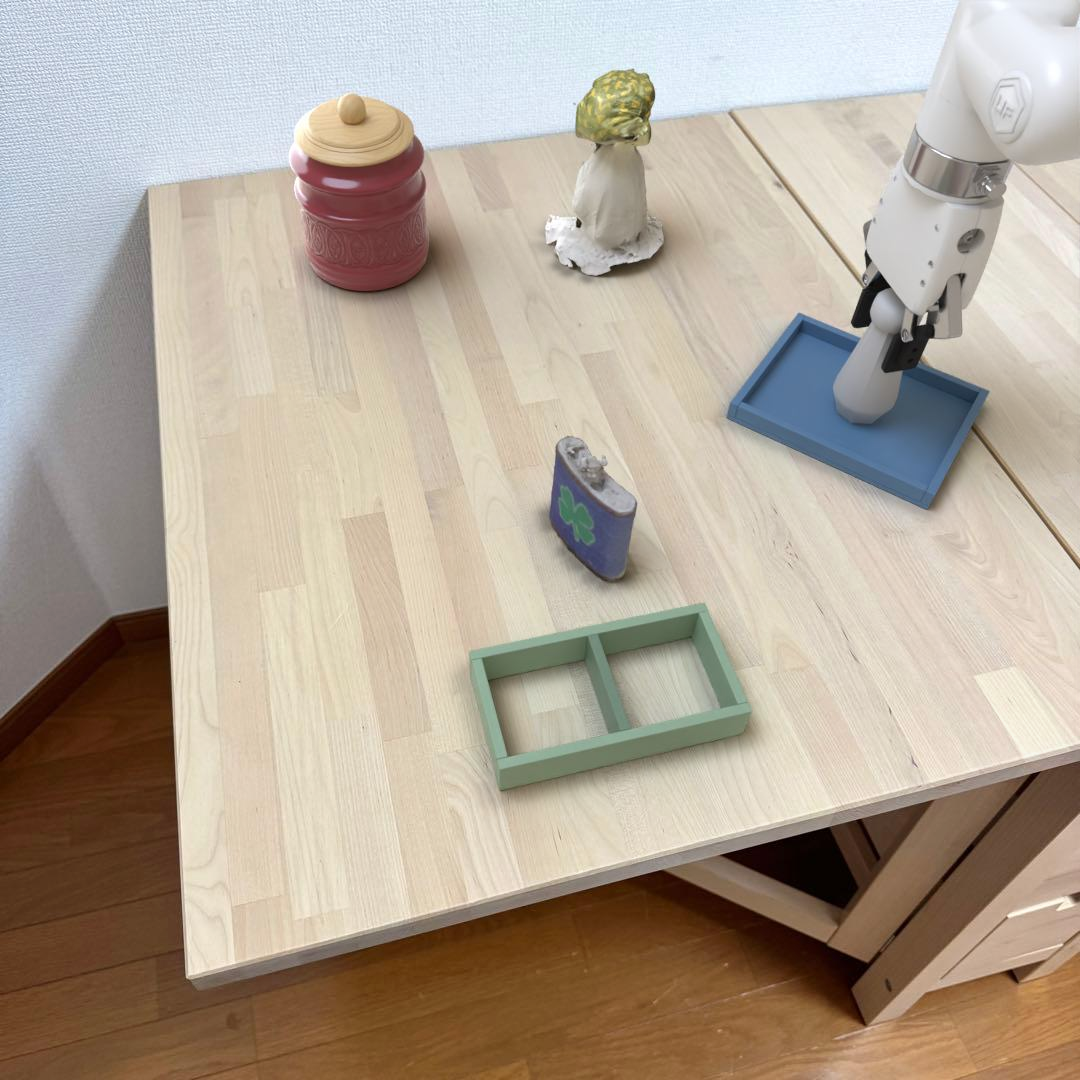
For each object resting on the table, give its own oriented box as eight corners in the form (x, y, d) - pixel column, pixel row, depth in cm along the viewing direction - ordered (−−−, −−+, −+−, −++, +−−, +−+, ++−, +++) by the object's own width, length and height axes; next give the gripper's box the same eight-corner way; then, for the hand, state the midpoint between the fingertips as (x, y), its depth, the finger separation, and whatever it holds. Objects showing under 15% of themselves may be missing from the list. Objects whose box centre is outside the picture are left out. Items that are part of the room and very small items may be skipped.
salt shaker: (894, 433, 92) (944, 322, 82) (832, 430, 92) (875, 320, 82) (881, 388, 96) (928, 277, 85) (822, 386, 96) (862, 275, 85)
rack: (697, 626, 79) (704, 601, 76) (742, 734, 73) (752, 711, 71) (469, 674, 76) (468, 650, 73) (499, 791, 70) (499, 769, 67)
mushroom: (686, 249, 109) (717, 85, 94) (596, 292, 104) (614, 126, 89) (615, 196, 114) (634, 34, 100) (526, 235, 109) (533, 70, 95)
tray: (981, 406, 95) (990, 390, 94) (927, 510, 87) (934, 495, 86) (793, 327, 101) (798, 312, 100) (725, 417, 93) (730, 402, 92)
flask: (631, 574, 82) (647, 489, 73) (602, 590, 81) (615, 505, 72) (566, 501, 86) (574, 413, 78) (538, 515, 85) (543, 427, 77)
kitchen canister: (432, 219, 110) (423, 61, 96) (427, 295, 102) (417, 135, 88) (313, 218, 110) (287, 58, 96) (299, 294, 102) (269, 132, 88)
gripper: (1067, 219, 69) (969, 407, 84) (946, 93, 79) (876, 280, 94) (972, 233, 68) (888, 421, 82) (860, 103, 78) (803, 291, 92)
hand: (882, 344), depth 88 cm, fingers open, 5 cm apart
